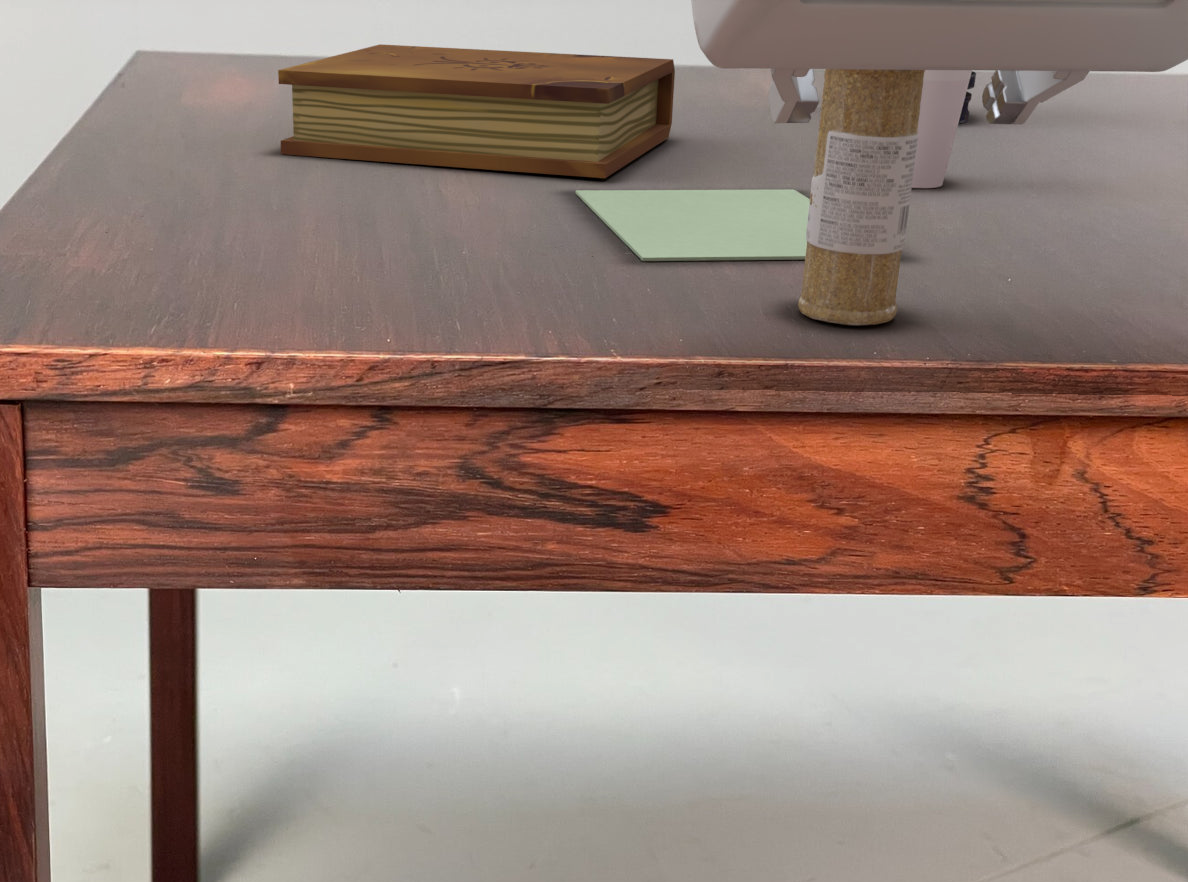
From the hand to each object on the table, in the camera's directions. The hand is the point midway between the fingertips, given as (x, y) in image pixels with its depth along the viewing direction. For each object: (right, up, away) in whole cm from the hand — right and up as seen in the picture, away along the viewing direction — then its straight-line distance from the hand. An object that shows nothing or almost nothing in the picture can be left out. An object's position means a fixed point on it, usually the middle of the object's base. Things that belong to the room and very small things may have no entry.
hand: (894, 111), depth 68 cm
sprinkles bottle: (0, -8, +6) cm, 10 cm away
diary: (-17, +10, +48) cm, 51 cm away
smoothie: (+11, +5, +38) cm, 40 cm away
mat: (-3, 0, +25) cm, 25 cm away
